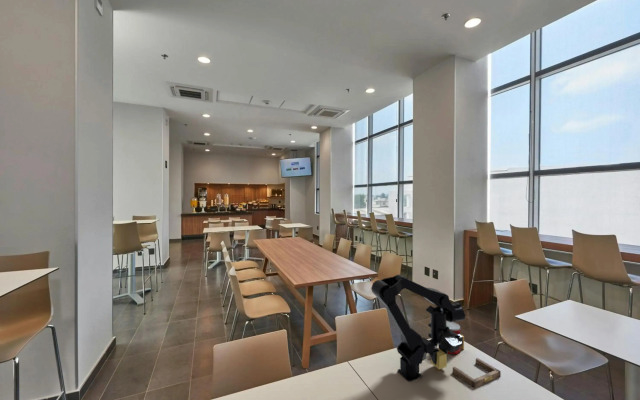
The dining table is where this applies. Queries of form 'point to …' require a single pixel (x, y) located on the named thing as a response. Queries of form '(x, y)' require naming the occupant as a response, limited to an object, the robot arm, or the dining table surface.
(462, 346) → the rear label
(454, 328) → the canned food
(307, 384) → the dining table surface
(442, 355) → the ochre block
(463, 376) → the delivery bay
